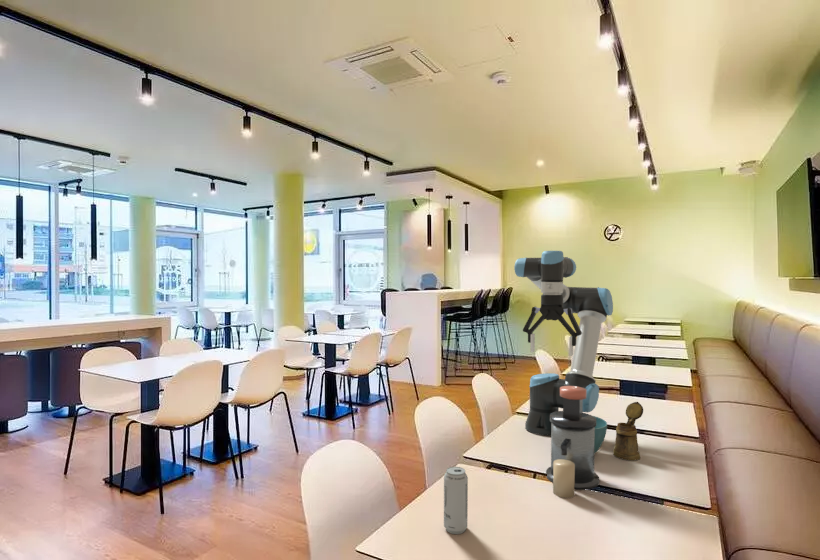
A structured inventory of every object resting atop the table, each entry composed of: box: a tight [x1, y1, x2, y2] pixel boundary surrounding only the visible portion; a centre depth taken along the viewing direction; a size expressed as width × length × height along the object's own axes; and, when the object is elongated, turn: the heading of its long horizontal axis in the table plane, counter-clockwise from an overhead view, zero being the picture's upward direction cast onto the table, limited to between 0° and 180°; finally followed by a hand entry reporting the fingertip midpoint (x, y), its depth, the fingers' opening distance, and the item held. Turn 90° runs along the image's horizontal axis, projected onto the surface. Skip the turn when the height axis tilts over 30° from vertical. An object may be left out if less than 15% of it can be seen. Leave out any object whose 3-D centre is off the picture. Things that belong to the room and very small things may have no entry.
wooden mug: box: [612, 401, 644, 461], centre depth 172 cm, size 9×14×18 cm, turn 132°
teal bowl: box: [593, 415, 608, 455], centre depth 172 cm, size 18×18×12 cm
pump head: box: [560, 386, 586, 400], centre depth 151 cm, size 8×8×8 cm
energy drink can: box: [443, 466, 469, 535], centre depth 121 cm, size 6×6×15 cm
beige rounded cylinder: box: [552, 459, 575, 499], centre depth 141 cm, size 6×6×9 cm
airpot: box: [545, 398, 600, 491], centre depth 149 cm, size 21×16×26 cm
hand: (551, 353), depth 170 cm, fingers open, 13 cm apart
